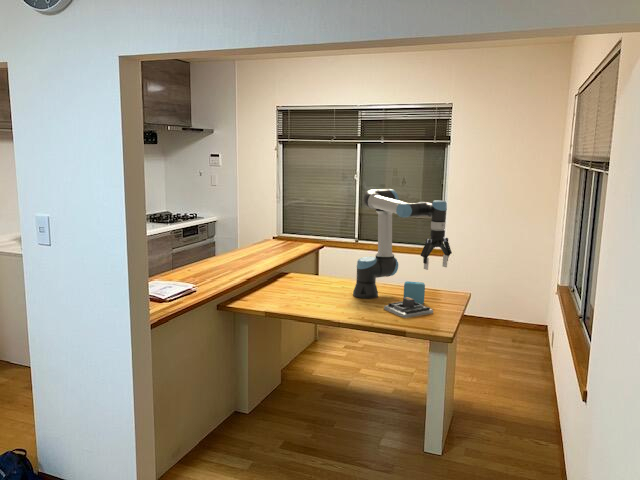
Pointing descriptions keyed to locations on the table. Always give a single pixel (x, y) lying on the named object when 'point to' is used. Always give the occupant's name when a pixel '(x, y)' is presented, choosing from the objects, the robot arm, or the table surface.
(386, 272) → the robot arm
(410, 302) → the breaker toggle
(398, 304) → the breaker panel
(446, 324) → the table surface
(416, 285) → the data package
